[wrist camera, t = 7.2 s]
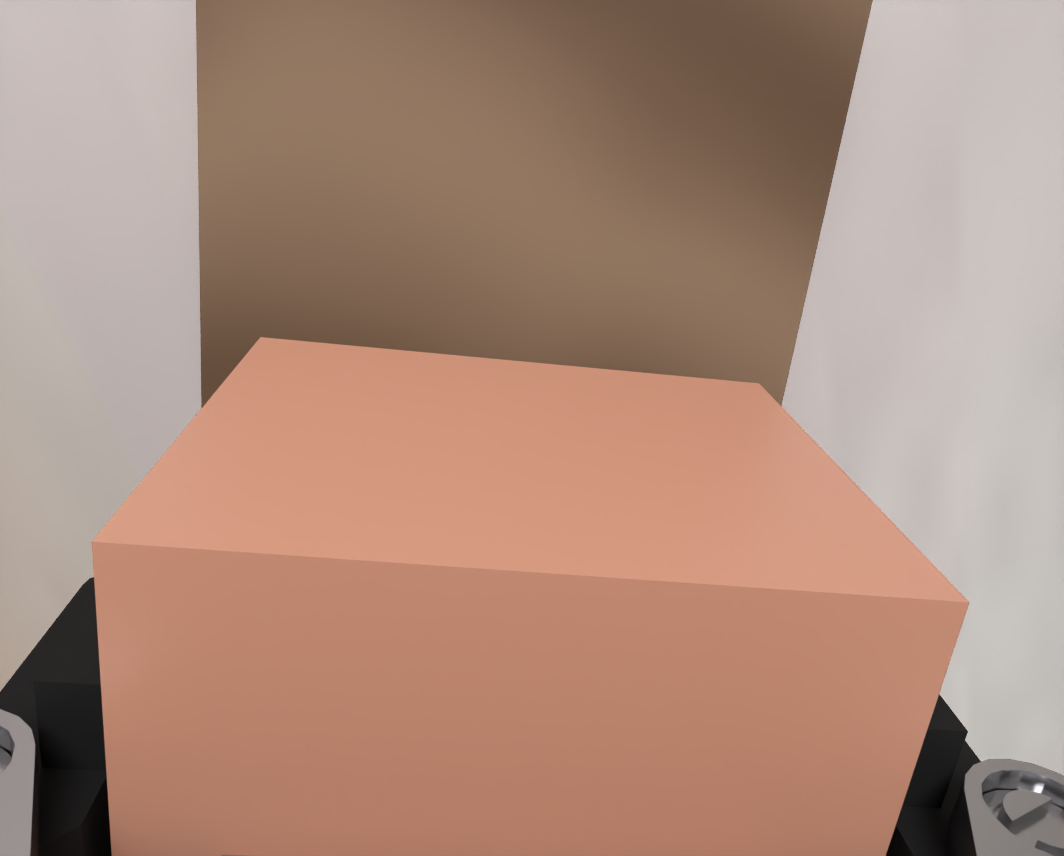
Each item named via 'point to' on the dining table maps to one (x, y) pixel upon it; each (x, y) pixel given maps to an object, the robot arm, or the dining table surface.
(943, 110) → the dining table surface
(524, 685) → the salmon pink cube
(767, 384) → the base
